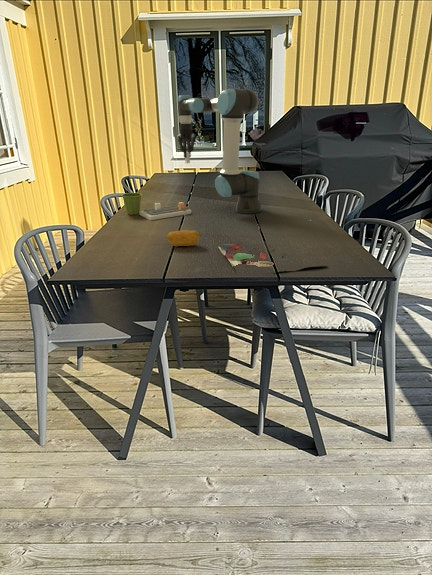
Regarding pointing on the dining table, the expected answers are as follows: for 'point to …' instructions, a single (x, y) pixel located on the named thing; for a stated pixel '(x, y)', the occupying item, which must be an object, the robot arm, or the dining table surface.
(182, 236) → the potato
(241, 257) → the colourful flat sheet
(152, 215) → the fader panel
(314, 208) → the dining table surface
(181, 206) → the fader knob
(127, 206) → the plant pot
